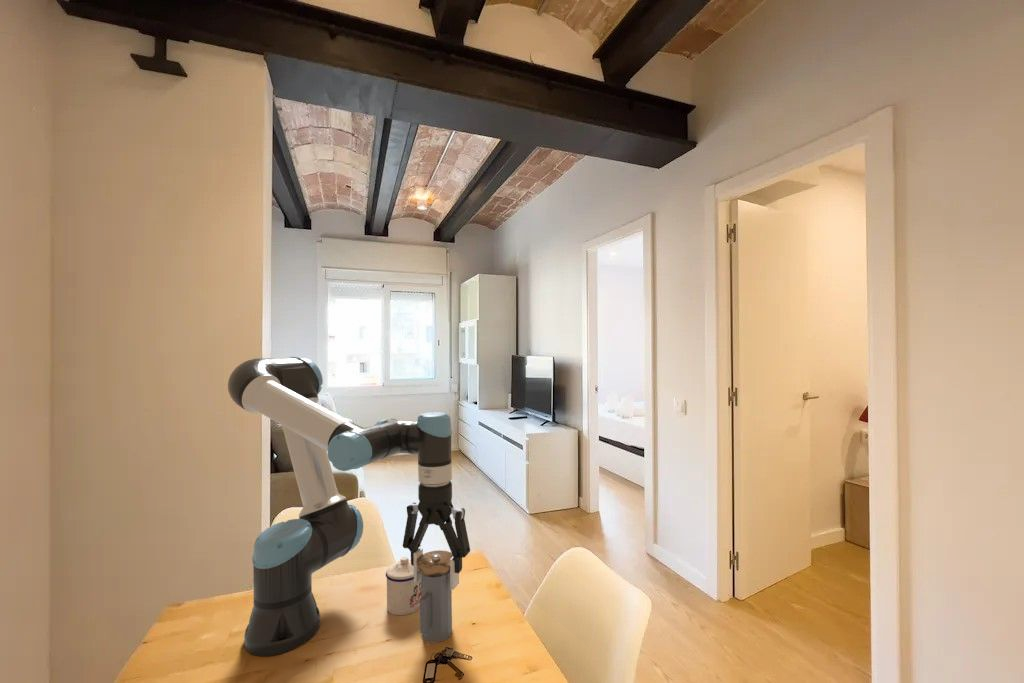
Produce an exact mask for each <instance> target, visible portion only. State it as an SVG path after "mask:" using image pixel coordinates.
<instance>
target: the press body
mask: <svg viewBox="0 0 1024 683" xmlns="http://www.w3.org/2000/svg"><path fill="white" fill-rule="evenodd" d="M452 599H453V598H452V589H451V586H450V572H449V573H447V574H445V575H441V576H434V577H430V576H424V575H421V599H420V608H419V634H421V638H422V639H424V641H425V642H429V643H439V642H443V641H445V640H447V639H448V638H450V636H451V635H452V633H453V615H452V614H453V613H452V610H453V607H452V601H453V600H452Z"/></svg>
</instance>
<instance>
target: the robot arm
mask: <svg viewBox="0 0 1024 683" xmlns="http://www.w3.org/2000/svg"><path fill="white" fill-rule="evenodd" d="M323 379H324V378H323V375H322V372H321V370H320V368H319V366H318V365H317V364H316V363H315V362H314V361H313V360H311V359H309V358H306V357H297V356H289V357H270V358H269V357H268V358H266V357H265V358H263V357H262V358H261V357H260V358H251V359H248V360H246V361H243V362H241V363H240V364H239V365H237V366H236V367H235V368H234V370H232V372H231V374H230V376H229V378H228V381H227V391H228V393H229V396H230V398H231V399H232V401H233V402H234V404H236V405H237V406H238V407H240V408H242V409H243V410H245V411H246V412H249V413H251V414H261V415H264V416H265V417H267V418H269V419H270V420H272V421H273V422H276V423H278V424H279V425H281V426H282V431H283V434H284V438H285V443H286V446H287V450H288V453H289V457H290V461H291V466H292V468H293V472H294V475H295V480H296V484H297V488H298V491H299V495H300V498H301V503H302V507H301V508H302V509H301V510H300V512H299V514H298V518H294V519H288V520H286V521H281V522H278V523H275V524H274V525H271V526H269V527H268V528H266V529H264V530H262V531H261V533H260V534H259V535H258V536H257V537H256V538H255V541H254V544H253V552H252V558H251V559H252V560H251V561H252V564H253V571H252V572H253V573H252V574H253V577H252V578H253V607H252V610H251V613H250V617H249V620H248V624H247V626H246V628H245V631H244V640H243V641H244V644H243V645H244V648H245V651H247V652H248V653H249V654H251V655H254V656H260V657H268V656H275V655H280V654H283V653H287V652H291V651H292V650H294V649H297V648H299V647H300V646H302V645H304V644H305V643H307V642H308V641H310V640H311V639H312V638H313V637H314V636H315V635H316V634H317V632H318V631H319V628H320V626H321V612H320V609H319V607H318V605H317V601H316V598H315V597H314V594H313V590H312V588H313V587H312V580H313V579H312V574H314V573H316V572H317V571H318V570H321V569H322V568H324V567H326V566H327V565H329V564H330V563H332V562H334V561H335V560H337V559H339V558H341V557H344V556H346V555H347V554H348V553H349V552H351V551H352V550H353V549H355V548H356V547H357V546H358V544H359V542H360V541H361V539H362V536H363V533H364V520H363V515H362V513H361V511H360V510H359V508H357V507H356V506H355V505H353V504H351V503H348V500H347V497H346V496H344V495H343V494H340V493H339V490H338V488H337V487H338V486H337V484H336V480H335V477H334V473H333V470H332V467H331V464H332V466H333V468H334V469H336V470H338V471H340V472H341V471H342V472H346V471H351V470H357V469H360V468H363V467H364V466H367V465H370V464H372V463H375V462H378V461H380V460H383V459H386V458H388V457H389V458H390V457H392V456H394V455H398V454H409V455H410V454H411V455H417V466H418V467H417V469H418V472H417V473H418V474H417V476H418V479H417V480H418V482H419V484H418V485H417V486H418V487H417V489H418V491H417V492H418V493H417V494H418V497H417V498H418V503H417V502H415V501H413V502H412V503H410V504H409V505H407V506H406V515H407V517H406V518H407V519H406V525H405V530H404V534H403V535H404V536H403V542H402V547H403V548H404V549H408V550H409V551H410V560H411V565H413V566H414V582H415V583H417V582H418V581H419V580H420V579H421V574H420V573H418V571H417V559H418V558H419V557H420V556H421V555H423V554H424V550H423V548H422V545H421V544H422V541H423V539H424V536H425V535H426V533H427V531H428V527H429V526H430V525H435V526H437V527H438V526H439V528H440V531H442V533H443V535H444V538H445V540H446V543H447V545H448V547H449V550H450V552H451V553H452V555H453V557H452V558H451V559H450V586H451V591H452V590H455V589H456V588H457V587H458V585H459V584H460V572H462V570H463V558H466V557H467V556H468V555H469V553H471V547H470V546H471V545H470V541H469V536H468V532H467V525H466V521H465V518H466V516H465V515H466V509H465V508H464V507H461V508H457V507H454V505H453V502H452V500H453V499H452V498H453V483H452V481H451V480H453V469H452V468H453V466H452V463H453V462H452V435H453V431H452V422H451V416H450V414H449V413H446V412H444V411H443V412H441V411H440V412H439V411H436V412H434V411H432V412H430V411H429V412H423V413H420V414H419V415H418V416H417V420H405V419H396V418H389V419H385V418H384V419H380V420H378V421H377V422H376V423H375V424H374V425H372V426H368V427H363V426H361V425H358V424H356V423H354V422H353V421H350V420H348V419H346V418H345V417H343V416H341V415H339V414H338V413H335V412H333V411H331V410H329V409H327V408H326V407H324V406H321V405H319V403H318V402H319V396H318V395H319V394H320V392H321V391H322V389H323V386H322V385H323V383H324V382H323V381H324V380H323ZM418 513H420V515H421V518H420V521H419V524H418V525H419V526H418V527H417V530H416V526H417V520H418V515H419V514H418ZM451 515H452V518H453V519H452V518H451ZM452 520H454V526H453V521H452ZM454 527H455V529H454Z"/></svg>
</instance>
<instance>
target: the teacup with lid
mask: <svg viewBox="0 0 1024 683" xmlns="http://www.w3.org/2000/svg"><path fill="white" fill-rule="evenodd" d="M385 577H386V609H387V611H388V612H389V613H390V614H392V615H393V616H406V615H410V614H413V613H415V612H417V611H418V610H420V599H421V579H420V580H419V581H418V582H417V583H415V582H414V566H413V565H411V559H409V557H407V556H403V557H401V558H400V560H399V561H397V562H393V563H392V564H391V565H390V566H388V567H387V568H386V571H385Z"/></svg>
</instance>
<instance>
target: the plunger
mask: <svg viewBox="0 0 1024 683" xmlns="http://www.w3.org/2000/svg"><path fill="white" fill-rule="evenodd" d="M452 557H453V555H452V553H451V551H447V550H431V551H428V552H425V553H423V555H421V556H420V557H419V558H418V559H417V571H418V573H420V574H421V575H424V576H430V577H434V576H441V575H445V574H447V573H449V572H450V559H451V558H452Z"/></svg>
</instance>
